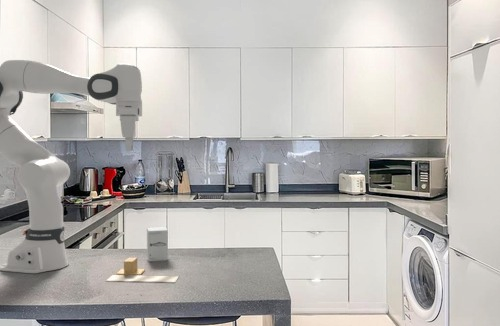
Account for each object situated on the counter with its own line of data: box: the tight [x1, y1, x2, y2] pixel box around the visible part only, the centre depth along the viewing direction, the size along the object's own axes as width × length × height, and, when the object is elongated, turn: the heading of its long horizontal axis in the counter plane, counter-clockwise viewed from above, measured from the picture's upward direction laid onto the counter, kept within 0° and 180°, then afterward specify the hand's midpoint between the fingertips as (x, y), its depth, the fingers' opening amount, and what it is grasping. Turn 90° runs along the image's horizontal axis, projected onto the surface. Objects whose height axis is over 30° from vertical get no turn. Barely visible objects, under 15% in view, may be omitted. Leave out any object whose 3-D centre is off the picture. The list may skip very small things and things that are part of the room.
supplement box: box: [146, 226, 169, 262], centre depth 174 cm, size 7×7×13 cm
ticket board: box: [105, 274, 180, 284], centre depth 152 cm, size 24×13×2 cm, turn 87°
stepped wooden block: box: [115, 257, 146, 275], centre depth 155 cm, size 8×6×5 cm
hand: (129, 150), depth 162 cm, fingers open, 8 cm apart
